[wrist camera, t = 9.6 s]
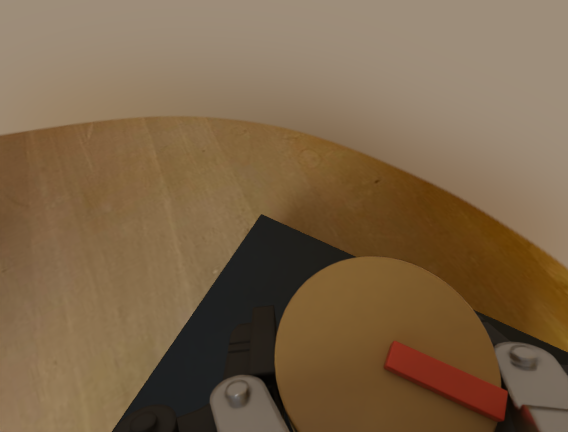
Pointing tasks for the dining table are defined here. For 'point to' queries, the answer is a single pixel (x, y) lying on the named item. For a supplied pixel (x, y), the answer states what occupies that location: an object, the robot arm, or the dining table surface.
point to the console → (238, 310)
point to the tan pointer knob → (385, 353)
